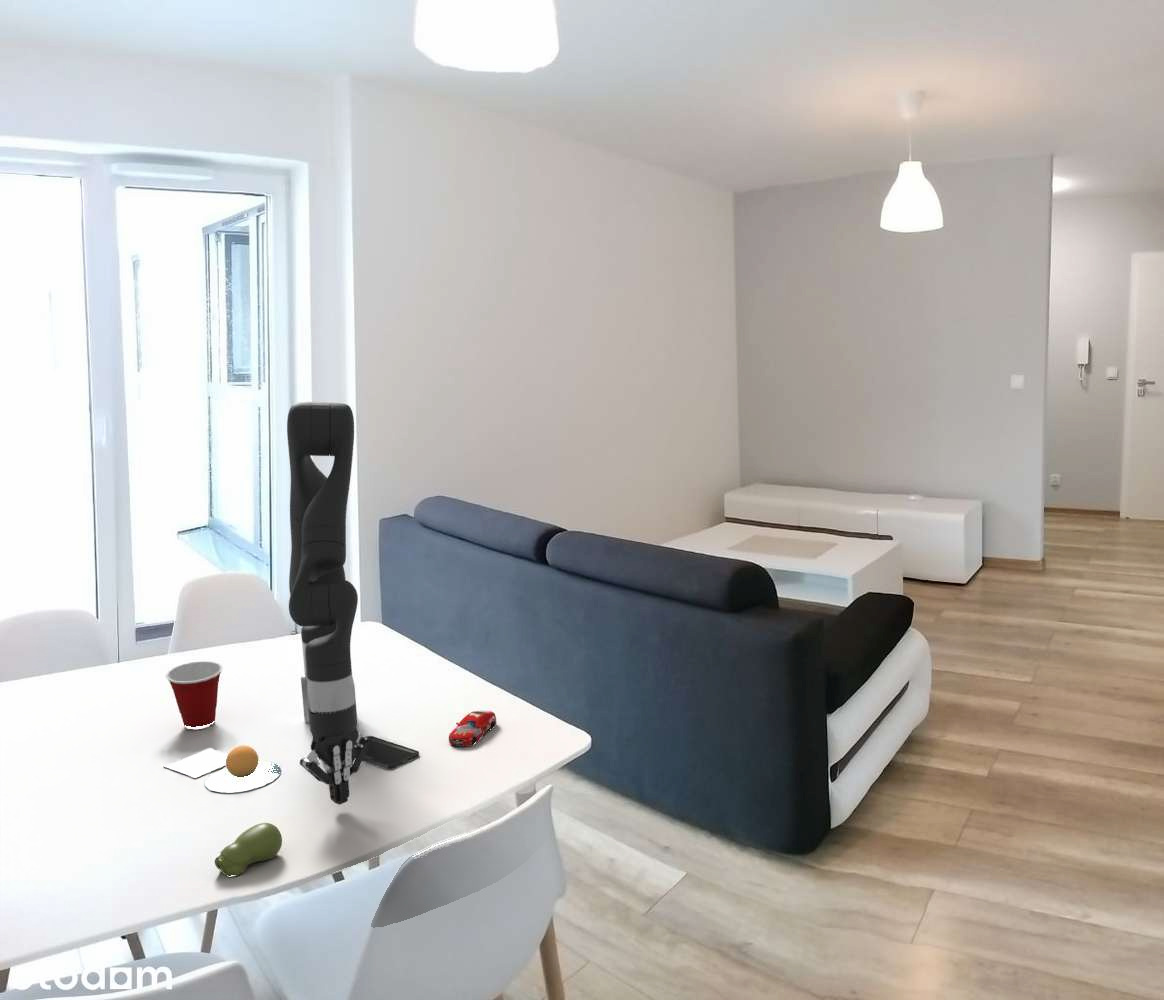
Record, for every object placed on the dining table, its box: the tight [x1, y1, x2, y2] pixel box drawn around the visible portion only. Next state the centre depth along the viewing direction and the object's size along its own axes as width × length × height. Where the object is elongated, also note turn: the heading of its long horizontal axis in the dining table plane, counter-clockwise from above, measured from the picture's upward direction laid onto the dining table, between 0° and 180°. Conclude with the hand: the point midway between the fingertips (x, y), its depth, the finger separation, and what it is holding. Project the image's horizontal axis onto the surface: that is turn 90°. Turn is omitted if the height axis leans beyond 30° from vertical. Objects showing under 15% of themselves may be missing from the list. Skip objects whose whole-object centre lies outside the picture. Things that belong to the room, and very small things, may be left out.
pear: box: [214, 822, 283, 876], centre depth 148 cm, size 6×5×10 cm
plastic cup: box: [165, 660, 223, 727], centre depth 203 cm, size 11×11×12 cm
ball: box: [225, 745, 259, 777], centre depth 179 cm, size 6×6×6 cm
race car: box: [448, 709, 497, 747], centre depth 194 cm, size 13×5×4 cm, turn 157°
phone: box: [362, 735, 420, 770], centre depth 186 cm, size 8×1×15 cm
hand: (340, 802), depth 164 cm, fingers closed
